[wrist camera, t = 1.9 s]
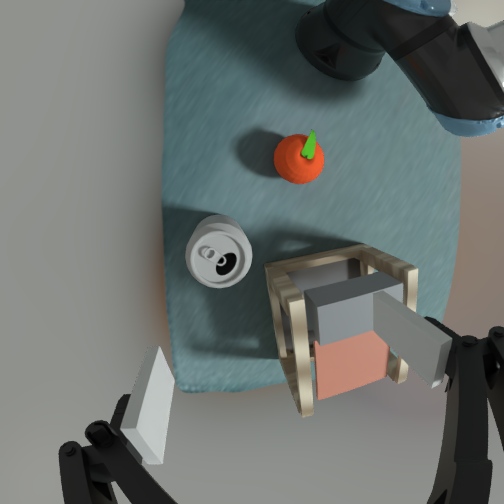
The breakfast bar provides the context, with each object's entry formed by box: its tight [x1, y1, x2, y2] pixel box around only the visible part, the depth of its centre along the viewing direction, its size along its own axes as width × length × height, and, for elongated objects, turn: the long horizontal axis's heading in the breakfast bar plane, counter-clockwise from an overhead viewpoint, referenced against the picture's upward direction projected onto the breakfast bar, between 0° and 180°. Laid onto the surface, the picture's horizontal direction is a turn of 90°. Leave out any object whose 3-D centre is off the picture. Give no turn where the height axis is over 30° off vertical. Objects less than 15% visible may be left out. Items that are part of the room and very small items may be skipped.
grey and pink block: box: [304, 271, 403, 400], centre depth 33 cm, size 16×13×5 cm
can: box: [185, 214, 252, 288], centre depth 35 cm, size 8×8×12 cm
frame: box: [264, 243, 418, 417], centre depth 38 cm, size 18×17×15 cm
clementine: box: [274, 130, 324, 184], centre depth 36 cm, size 8×7×7 cm
